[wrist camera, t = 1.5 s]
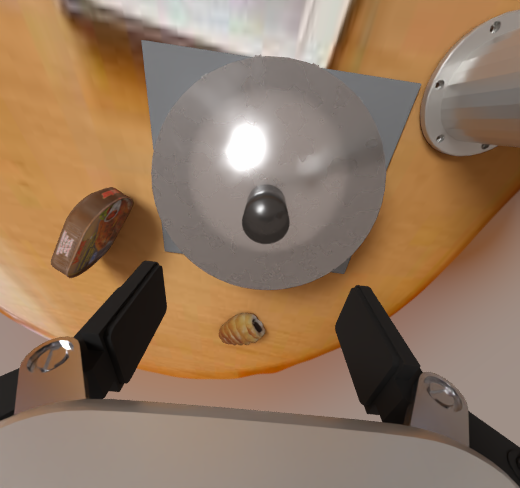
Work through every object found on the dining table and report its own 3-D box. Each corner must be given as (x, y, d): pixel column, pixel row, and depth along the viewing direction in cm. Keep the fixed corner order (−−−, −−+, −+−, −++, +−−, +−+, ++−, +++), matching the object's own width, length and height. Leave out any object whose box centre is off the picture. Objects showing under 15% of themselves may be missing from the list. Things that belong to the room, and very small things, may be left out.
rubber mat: (419, 84, 23) (421, 83, 23) (343, 272, 36) (344, 273, 36) (143, 41, 22) (141, 39, 22) (165, 250, 35) (164, 251, 35)
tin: (105, 257, 37) (64, 291, 29) (86, 247, 36) (39, 279, 28) (141, 191, 31) (101, 212, 23) (120, 176, 30) (72, 194, 22)
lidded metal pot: (389, 91, 24) (496, 64, 12) (327, 266, 35) (354, 332, 24) (172, 58, 23) (80, -3, 12) (183, 247, 35) (143, 307, 23)
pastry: (231, 341, 47) (228, 358, 44) (212, 322, 44) (207, 339, 41) (268, 327, 44) (267, 343, 41) (250, 306, 42) (248, 322, 38)
